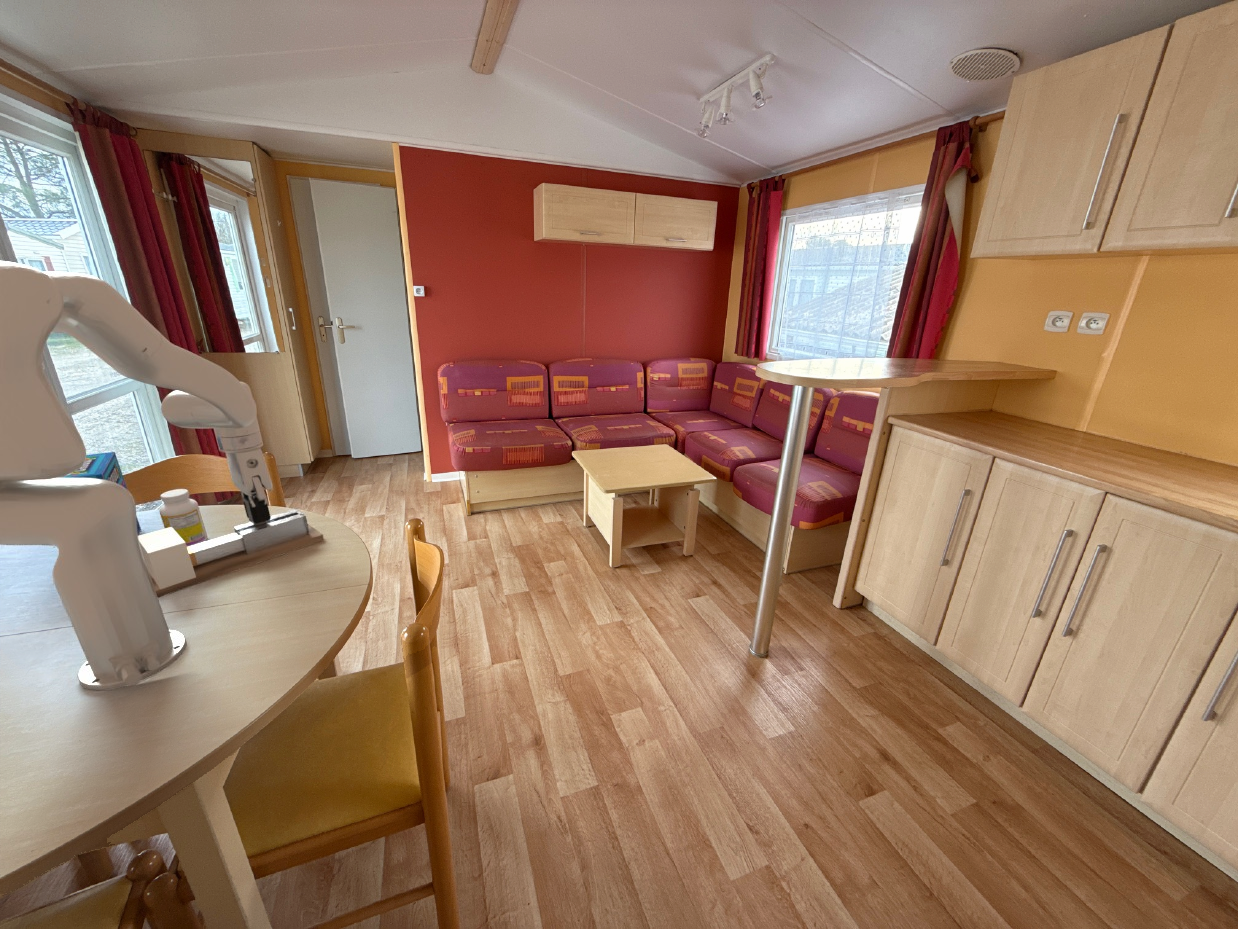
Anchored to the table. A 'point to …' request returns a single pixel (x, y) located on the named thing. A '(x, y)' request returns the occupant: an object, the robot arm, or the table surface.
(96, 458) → the box
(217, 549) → the sliding bolt latch
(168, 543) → the block
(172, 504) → the supplement bottle
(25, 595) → the table surface
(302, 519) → the outer sleeve
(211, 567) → the base board
